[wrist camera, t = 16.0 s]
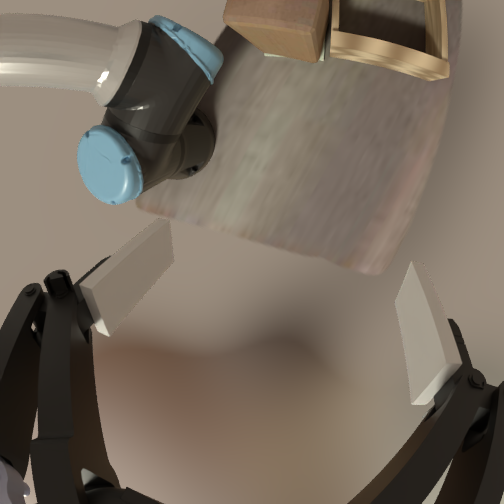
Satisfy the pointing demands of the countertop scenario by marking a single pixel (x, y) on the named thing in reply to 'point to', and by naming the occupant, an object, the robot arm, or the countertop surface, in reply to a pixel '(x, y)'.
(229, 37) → the countertop surface
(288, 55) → the wooden block
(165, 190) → the countertop surface
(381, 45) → the crate
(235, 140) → the countertop surface
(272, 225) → the countertop surface
